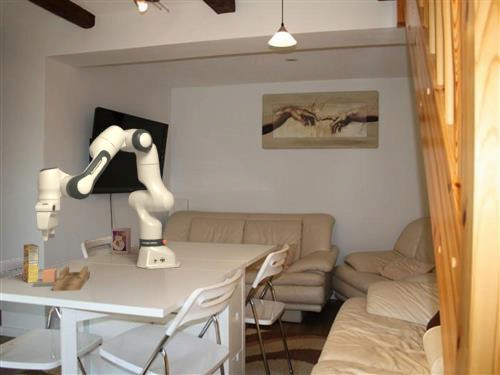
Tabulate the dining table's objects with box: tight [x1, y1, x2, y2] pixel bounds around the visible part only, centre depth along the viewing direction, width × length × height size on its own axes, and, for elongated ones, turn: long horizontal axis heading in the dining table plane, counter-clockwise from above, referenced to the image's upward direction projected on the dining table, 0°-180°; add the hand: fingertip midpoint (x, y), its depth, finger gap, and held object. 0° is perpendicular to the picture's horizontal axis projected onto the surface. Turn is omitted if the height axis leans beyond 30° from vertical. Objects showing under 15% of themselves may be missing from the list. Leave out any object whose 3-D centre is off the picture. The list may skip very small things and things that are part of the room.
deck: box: [52, 265, 91, 292], centre depth 180 cm, size 10×24×6 cm, turn 12°
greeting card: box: [111, 227, 132, 255], centre depth 264 cm, size 11×7×15 cm, turn 73°
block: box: [42, 268, 58, 282], centre depth 179 cm, size 4×4×4 cm
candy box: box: [22, 243, 40, 284], centre depth 184 cm, size 9×4×15 cm, turn 41°
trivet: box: [32, 277, 59, 288], centre depth 179 cm, size 9×9×1 cm
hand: (48, 239), depth 179 cm, fingers open, 8 cm apart
